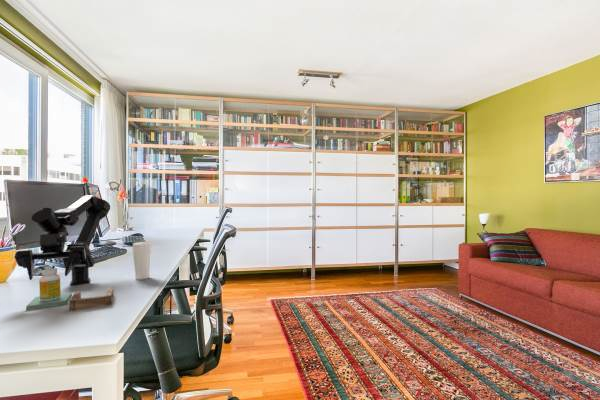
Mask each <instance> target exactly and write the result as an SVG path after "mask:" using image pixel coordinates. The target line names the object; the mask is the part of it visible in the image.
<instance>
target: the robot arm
mask: <svg viewBox="0 0 600 400" xmlns="http://www.w3.org/2000/svg"><path fill="white" fill-rule="evenodd" d="M110 210H111V205H110V203H109V202H108V201H106V200H105V199H103V198H100V197H98V196H96V195H95V194H94V195H93V194H92V195H83V196H81V198H79V199H78V200H77V201H75V202H74V203H72V204H71V205H69V206H68V207H66V208H60V209H57V210H55V211H53V209H52V208H51V207H49V206H48V207H43V208H42V209H41V210H38V211H36V212H35V213H33V214H32V215H31V221H33V223H34V224H35V225H36V226H37V228H39V229H40V231H42V232H44V233H43V234H40V235H39V245H40V248H39V249H40V251H41V252H37V253H33V250H32V249H25V250H24V249H23V250H17V251H16V252H15V254H14V257H13V258H14V260H15V261H16V264H17V266H18V267H22V268H23V269H26V271H27V274H28V278H29V280H30V281H31V280H33V277H34V272H35V262H36V261H37V260H48V259H49V260H55V259H62V260H63V261H62V262H63V264H64V268H65V269H64V270H65V271H64V276H65V277H67V276H68V275H69V274H70V272H71V281H70V283H69V285H70V286H73V285H81V284H87V283H90V282H91V277H90V276H89V275H90V274H89V273H90V272H89V268H93V267H94V266H95V259H94V257H92V252H91V249H90V245H91V243H92V240H93V238H94V237H95V235H96V231H97V228H98V227H99V225H100V222H101V220H102V219H104V218H105V217H106V216H107V215H108V214H109V212H110ZM85 212H86V213H87V218H86V220H85V222H84V224H83V226H82V229H81V230H80V233H79V235H78V237H77V240H76V241H75V243H70V244H68V245H67V247H65V245H66V244H65V243H67V236H69V232H68V229H67V227H72V226H75V225H76V224H77V223H78V221H79V220H80V218H79V217H80V216H81V215H83V213H85ZM65 248H66V249H65ZM64 250H65V251H64ZM35 260H36V261H35Z"/></svg>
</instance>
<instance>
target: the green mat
mask: <svg viewBox="0 0 600 400" xmlns="http://www.w3.org/2000/svg"><path fill="white" fill-rule="evenodd" d="M72 294H73V293H72V292H64V293H61V296H60V298H58V299H55V300H51V301H41V300H40V296H35V297H34V298H33V299H32V300H30V302H29V303H28V304H27V305H26V306H25V310H26V311H31V310H37V309H43V308H51V307H58V306H65V305H67V303H69V301H70V299H71V298H72V296H73V295H72Z"/></svg>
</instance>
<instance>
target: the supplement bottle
mask: <svg viewBox="0 0 600 400" xmlns="http://www.w3.org/2000/svg"><path fill="white" fill-rule="evenodd" d="M41 275H42V276H41V277H40V278H39V297H40V300H41V301H51V300H55V299H58V298H60V296H61V294H62V292H61V276H60V275H59V274H58V269H57V268H45V269H42V270H41Z"/></svg>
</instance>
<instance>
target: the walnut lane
mask: <svg viewBox="0 0 600 400" xmlns="http://www.w3.org/2000/svg"><path fill="white" fill-rule="evenodd" d="M81 292H82V291H75V292H73V293H74V294H73V295H72V296H71V298H70V299H69V301H68V309H69V312H71V311H72V312H74V311H79V310H80V311H81V310H87V309H94V308H101V307H107V306H112V303H113V299H114V295H115V294H114V292H115V291H114V287H113V286H112V287H108V288H107V291H106V294H105V295H96V296H90V297H82V293H81Z"/></svg>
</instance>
